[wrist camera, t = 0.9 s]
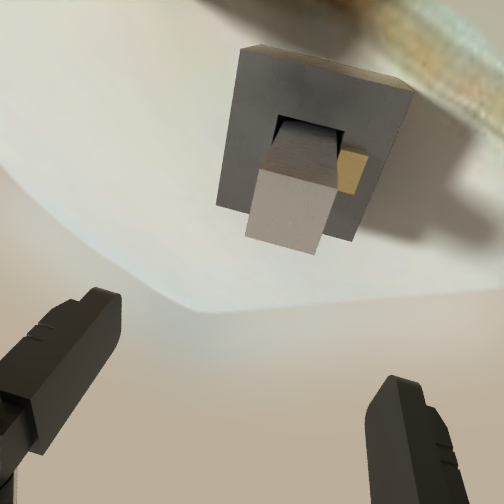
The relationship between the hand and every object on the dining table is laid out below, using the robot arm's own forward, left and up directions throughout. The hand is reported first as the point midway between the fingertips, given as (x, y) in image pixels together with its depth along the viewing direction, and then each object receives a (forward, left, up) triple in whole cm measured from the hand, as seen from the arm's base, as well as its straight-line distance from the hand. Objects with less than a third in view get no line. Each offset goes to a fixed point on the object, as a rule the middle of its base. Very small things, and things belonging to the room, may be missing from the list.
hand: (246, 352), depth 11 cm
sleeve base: (0, 0, -28) cm, 28 cm away
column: (0, 0, -28) cm, 28 cm away
